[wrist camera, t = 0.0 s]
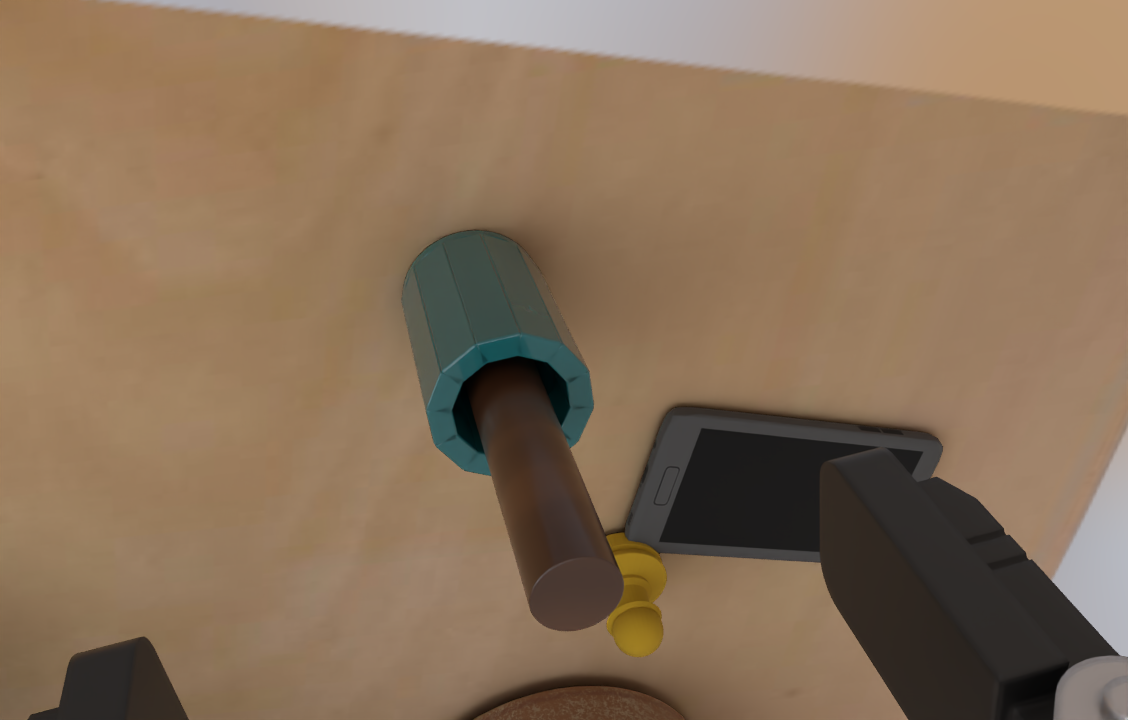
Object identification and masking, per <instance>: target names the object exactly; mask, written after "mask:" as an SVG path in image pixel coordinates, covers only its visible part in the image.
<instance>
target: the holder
mask: <svg viewBox="0 0 1128 720" xmlns="http://www.w3.org/2000/svg"><path fill="white" fill-rule="evenodd" d="M402 307H403V311H404V316H405V320H406V325H407V329H408V333H409V338H410V342H411V347H412V351H413V356H414V360H415V365H416V369H417V374H418V378H419V383H420V387H421V392H422V396H423V401H424V405H425V410H426V414H427V418H428V422H429V426H430V430H431V434H432V438H433V442H434V444H435V446H436V447H437V448H438V449H439V450H440V451H441V452H443V453H444V454H445V455H446V456H447V457H448V458H450V459H451V460H452V461H453V462H454V463H455V464H457V465H458V466H459V467H460V468H461V469H463V470H464V471H468V472H473V473H478V474H483V475H489V476H491V473H490V470H489V466H488V463H487V459H486V456H485V452H484V449H483V446H482V442H481V439H480V435H479V432H478V428H477V425H476V422H475V418H474V415H473V411H472V408H471V404H470V401H469V398H468V394H467V391H466V387H465V384H464V381H465V380H467V379H468V378H469V377H470V376H472V375H473V374H474V373H475V372H477V371H478V370H479V369H480V368H481V367H483V366H484V365H485V364H486V363H490V362H494V361H499V360H503V359H507V358H511V357H516V356H521V357H525V358H530V359H533V360H534V362H535V365H536V367H537V369H538V372H539V374H540V377H541V379H542V382H543V384H544V386H545V389H546V391H547V394H548V396H549V399H550V401H551V403H552V406H553V408H554V411H555V413H556V416H557V418H558V421H559V423H560V425H561V428H562V430H563V433H564V435H565V438H566V440H567V442H568V445H569V447H570V448H571V447H572V446H574V445H575V444H576V443H577V442H578V441H579V439H580V437H581V435H582V432H583V430H584V428H585V426H586V424H587V422H588V419H589V417H590V415H591V413H592V411H593V409H594V400H593V393H592V386H591V379H590V372H589V370H588V368H587V366H586V364H585V362H584V360H583V358H582V355H581V353H580V351H579V349H578V347H577V345H576V343H575V341H574V339H573V337H572V335H571V333H570V331H569V329H568V327H567V325H566V323H565V321H564V319H563V317H562V315H561V313H560V311H559V309H558V306H557V304H556V302H555V300H554V298H553V296H552V294H551V292H550V290H549V288H548V286H547V284H546V282H545V280H544V278H543V276H542V274H541V272H540V270H539V268H538V267H537V266H536V264H535V263H534V262H533V260H532V259H531V257H530V256H529V255H528V253H527V252H526V251H525V250H524V249H523V248H522V247H521V246H520V245H519V244H517V243H516V242H514V241H513V240H511V239H509V238H507V237H505V236H503V235H500V234H497V233H493V232H489V231H479V230H475V231H464V232H458V233H455V234H451V235H449V236H446V237H444V238H441V239H440V240H438V241H436V242H434V243H433V244H432V245H430V246H429V247H428V248H426V249H425V250H424V251H423V252H422V253H421V254H420V255H419V256H418V257H417V259H416V260H415V261H414V262H413V264H412V266H411V267H410V269H409V271H408V273H407V276H406V278H405V281H404V285H403V292H402Z"/></svg>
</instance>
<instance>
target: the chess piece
mask: <svg viewBox="0 0 1128 720" xmlns="http://www.w3.org/2000/svg"><path fill="white" fill-rule="evenodd" d="M606 537H607V540H608V542H609V545H610V547H611V550H612V552H613V554H614V557H615V559H616V562H617V564H618V567H619V569H620V571H621V574H622V576H623V580H624V591H623V595H622V598H621V600H620V602H619V604H618V605H617V607H616V608H615V609H614V611H613V612H612V613H611V614H610V615H608V616H609V618H608V620H607V630H608V632H609V633H610V634H611V635H612V636H613V637H614V640H615V643H616V644H617V646H618V647H619V649H620V650H621V651H623V652H624V653H625V654H627V655H629V656H633V657H644V656H648V655H650V654H651V653H653V652H654V651H655V650H656V649H657V648H658V647H659V645H660V644H661V642H662V638H663V625H662V621H661V618H662V614H661V611H660V609H659V608H658V607H657V606H656V605H655V604H653V602H654V601H655V600H656V599H657V598H658V597H659V596H660V594H661V593H662V591H663V590H664V588H665V585H666V581H667V574H666V570H665V567H664V566H663V564H662V561H661V558H660V555H659V553H657V552H656V551H655V550H654V549H653V548H652V547H650V546H648V545H647V544H643V543H640V542H634V541H629V540H628V539H627V538H626V537H625V533H616V534H611V535H608V536H606Z"/></svg>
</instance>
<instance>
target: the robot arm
mask: <svg viewBox="0 0 1128 720" xmlns="http://www.w3.org/2000/svg"><path fill="white" fill-rule="evenodd" d="M820 561H821V567H822V572H823V576H824V579H825V582H826V585H827V588H828V591H829V593H830V595H831V598H832V600H833V602H834V604H835V605H836V607H837V609H838V610H839V612H840V613H841V615H842V616H843V618H844V620H845V621H846V623H847V624H848V626H849V627H850V629H851V630H852V632H853V634H854V635H855V637H856V638H857V640H858V641H859V643H860V645H861V646H862V648H863V649H864V651H865V652H866V654H867V656H868V657H869V659H870V660H871V662H872V663H873V665H874V666H875V668H876V670H877V671H878V673H879V674H880V676H881V677H882V679H883V681H884V682H885V684H886V685H887V687H888V688H889V690H890V691H891V693H892V695H893V696H894V698H895V699H896V701H897V702H898V704H899V706H900V707H901V709H902V710H903V712H904V713H905V715H906V717H907V718H908V720H1128V657H1125V656H1120V655H1119V654H1118V653H1117V652H1116V651H1115V650H1114V649H1113V648H1112V647H1111V646H1110V645H1109V644H1108V643H1107V641H1106V640H1104V638H1103V637H1102V636H1101V635H1100V634H1099V633H1098V632H1097V631H1096V629H1095V628H1094V627H1093V626H1092V625H1091V624H1090V623H1089V622H1088V621H1087V620H1086V618H1085V617H1084V616H1083V615H1082V614H1081V613H1080V612H1079V611H1078V610H1077V608H1076V607H1075V606H1074V605H1073V604H1072V603H1071V602H1070V601H1069V600H1068V599H1067V597H1065V595H1064V594H1063V593H1062V592H1061V591H1060V590H1059V589H1058V588H1057V586H1056V585H1055V584H1054V583H1053V582H1052V581H1051V580H1050V579H1049V578H1048V577H1047V575H1046V574H1045V573H1044V572H1043V571H1042V570H1041V569H1040V568H1039V567H1038V566H1037V564H1036V563H1035V562H1034V561H1033V560H1032V559H1031V560H1028V558H1027V556H1026V552H1025V551H1024V550H1023V549H1022V548H1021V547H1020V546H1019V545H1018V544H1017V542H1016V541H1015V540H1014V539H1013V538H1012V537H1011V536H1010V535H1006V534H1005V532H1004V528H1003V527H1002V526H1001V525H1000V524H999V523H998V522H997V521H996V519H995V518H994V517H993V516H992V515H991V514H990V513H989V512H988V511H987V510H986V508H985V507H984V506H983V505H982V504H981V503H980V502H979V501H978V500H977V499H976V498H974V497H973V496H971V495H969V494H967V493H965V492H964V491H962V490H960V489H958V488H956V487H955V486H953V485H951V484H949V483H947V482H946V481H944V480H942V479H940V478H938V477H934V478H931V479H927V480H923V481H919V482H917V481H916V480H915V479H914V478H913V477H912V476H911V474H910V473H909V472H908V471H907V470H906V468H905V467H904V466H903V465H902V464H901V463H900V461H899V460H898V459H897V458H896V457H895V456H894V454H893V453H892V452H891V451H889V450H888V449H886V448H884V447H879V448H875V449H872V450H868V451H864V452H860V453H856V454H852V455H848V456H845V457H841V458H837V459H833V460H829V461H826V462H824V463H823V464H822V466H821V469H820ZM28 720H189V719H188V717H187V715H186V713H185V711H184V709H183V707H182V705H181V703H180V701H179V699H178V696H177V694H176V692H175V690H174V688H173V686H172V684H171V682H170V680H169V678H168V676H167V674H166V672H165V670H164V668H163V665H162V663H161V661H160V659H159V657H158V655H157V653H156V651H155V649H154V647H153V645H152V644H151V642H150V641H149V640H148V639H147V638H145V637H139V638H135V639H131V640H127V641H123V642H119V643H115V644H112V645H108V646H104V647H100V648H96V649H92V650H88V651H85V652H81V653H77V654H75V655H73V657H72V658H71V660H70V662H69V665H68V668H67V673H66V677H65V682H64V687H63V691H62V696H61V700H60V705H59V707H58V708H54V709H51V710H47V711H43V712H39V713H36V714H32V715H31V716H30V717H29V719H28Z"/></svg>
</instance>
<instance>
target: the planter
mask: <svg viewBox="0 0 1128 720" xmlns="http://www.w3.org/2000/svg"><path fill="white" fill-rule="evenodd" d="M473 720H685V719H684V718H683V717H682V716H681V715H680V714H679V713H678V712H677V711H676V710H674V709H673V708H672V707H670V706H668V705H667V704H665V703H664V702H662V701H660V700H658V699H656V698H654V697H651V696H649V695H646V694H643V693H640V692H637V691H633V690H629V689H623V688H617V687H609V686H576V687H566V688H559V689H553V690H548V691H544V692H540V693H535V694H532V695H528V696H525V697H522V698H519V699H516V700H513V701H511V702H508V703H505V704H503V705H501V706H498V707H496V708H494V709H492V710H490V711H488V712H486V713H484V714H482V715H480V716H478V717H477V718H475V719H473Z"/></svg>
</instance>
